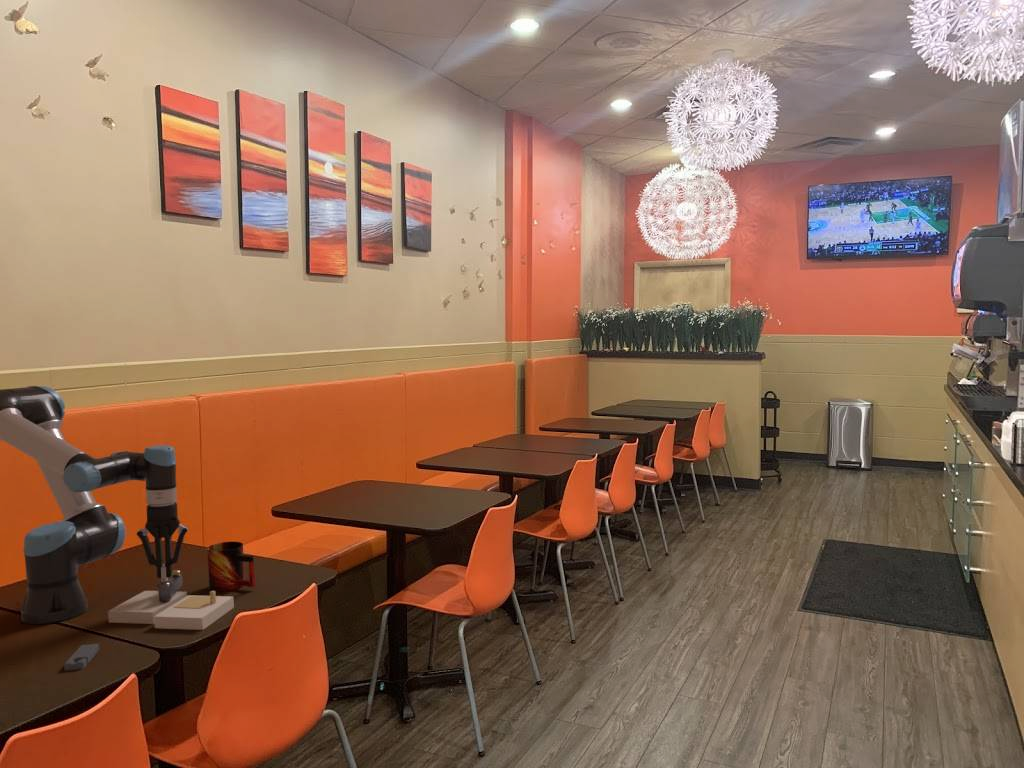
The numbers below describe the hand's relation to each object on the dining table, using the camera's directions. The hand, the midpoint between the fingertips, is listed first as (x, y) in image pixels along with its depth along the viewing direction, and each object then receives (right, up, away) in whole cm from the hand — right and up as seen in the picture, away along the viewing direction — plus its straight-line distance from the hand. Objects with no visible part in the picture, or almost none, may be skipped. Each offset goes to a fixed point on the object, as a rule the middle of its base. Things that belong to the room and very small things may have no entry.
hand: (165, 588), depth 205 cm
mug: (+14, -3, +14) cm, 20 cm away
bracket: (-3, -8, -34) cm, 35 cm away
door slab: (+12, -5, -10) cm, 17 cm away
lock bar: (+2, -1, -1) cm, 2 cm away
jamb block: (-2, -5, -5) cm, 7 cm away
